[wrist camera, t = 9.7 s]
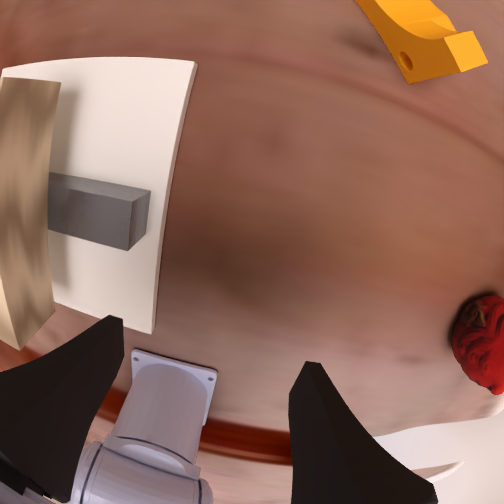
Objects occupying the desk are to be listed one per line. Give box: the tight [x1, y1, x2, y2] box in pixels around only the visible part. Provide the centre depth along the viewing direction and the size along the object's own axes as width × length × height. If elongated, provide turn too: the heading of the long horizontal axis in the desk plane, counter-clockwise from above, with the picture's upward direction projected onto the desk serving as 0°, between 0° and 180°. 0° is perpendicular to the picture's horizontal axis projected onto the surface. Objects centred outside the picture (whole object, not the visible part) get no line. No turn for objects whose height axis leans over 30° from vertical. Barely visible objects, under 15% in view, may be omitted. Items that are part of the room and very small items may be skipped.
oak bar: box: [0, 77, 61, 351], centre depth 13 cm, size 16×4×5 cm, turn 166°
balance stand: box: [1, 57, 198, 334], centre depth 17 cm, size 20×18×4 cm
